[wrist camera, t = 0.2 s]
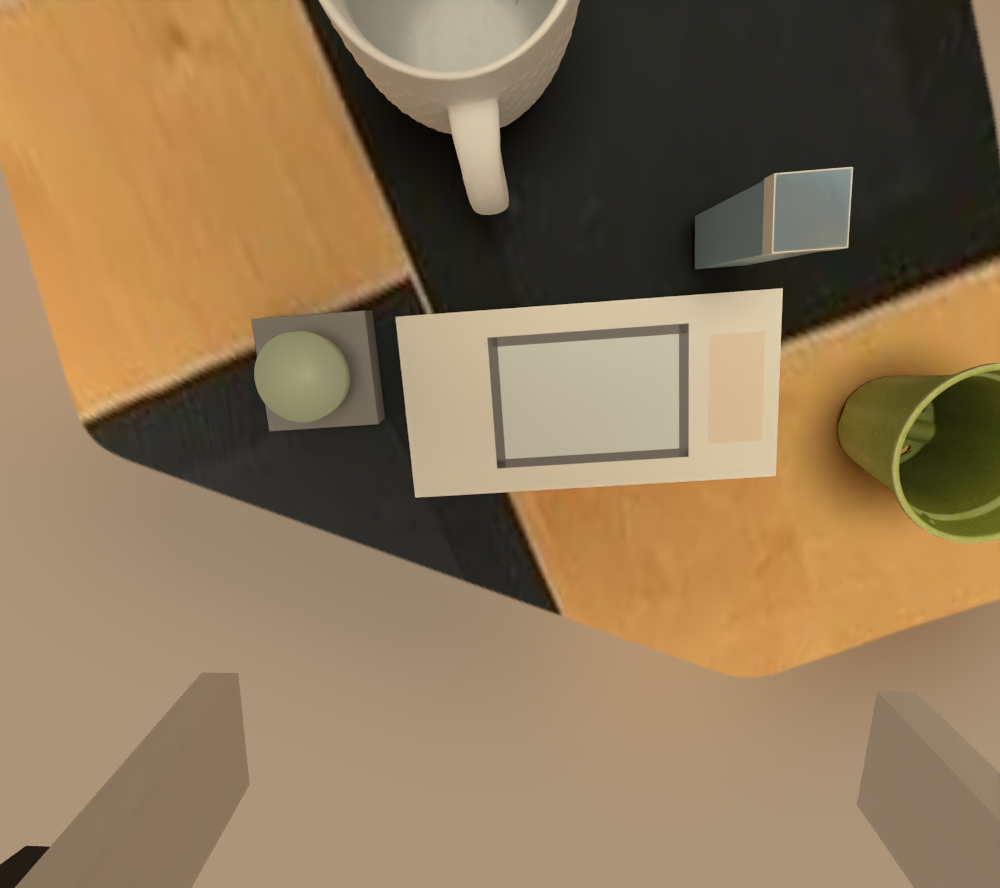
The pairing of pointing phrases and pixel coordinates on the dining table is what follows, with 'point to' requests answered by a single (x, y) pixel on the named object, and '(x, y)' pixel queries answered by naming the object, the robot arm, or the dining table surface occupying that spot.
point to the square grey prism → (777, 219)
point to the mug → (460, 69)
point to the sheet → (593, 393)
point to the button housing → (362, 358)
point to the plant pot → (933, 447)
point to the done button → (302, 376)
